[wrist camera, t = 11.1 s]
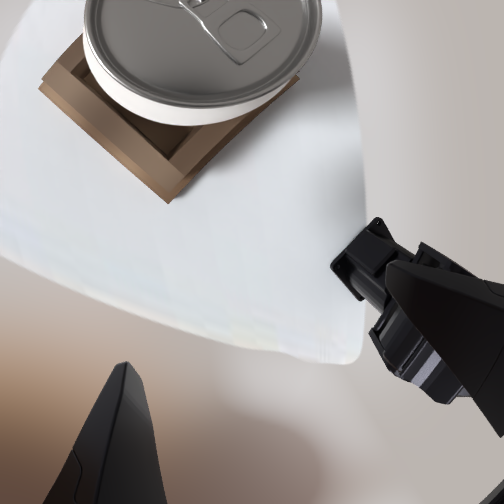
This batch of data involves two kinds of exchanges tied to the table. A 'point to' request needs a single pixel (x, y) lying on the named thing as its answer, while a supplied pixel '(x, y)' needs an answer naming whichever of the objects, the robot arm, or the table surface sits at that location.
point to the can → (197, 54)
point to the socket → (139, 127)
